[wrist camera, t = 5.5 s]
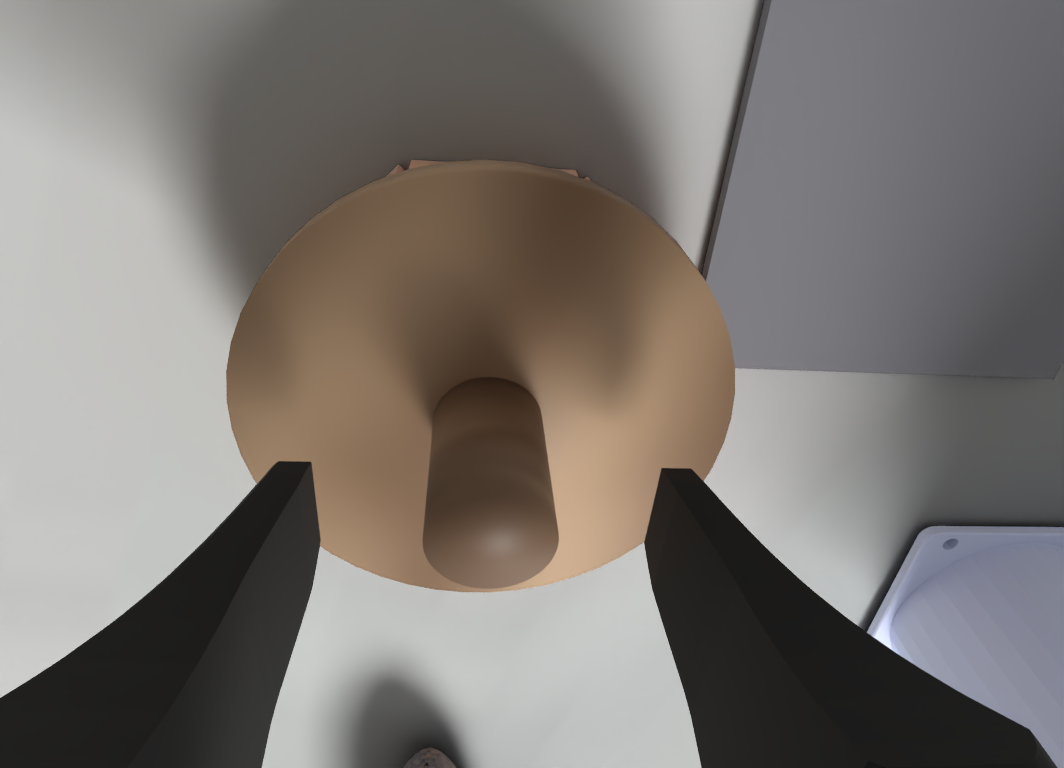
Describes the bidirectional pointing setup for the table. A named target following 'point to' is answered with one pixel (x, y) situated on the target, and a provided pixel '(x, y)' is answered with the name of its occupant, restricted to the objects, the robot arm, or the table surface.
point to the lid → (481, 373)
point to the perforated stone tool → (429, 760)
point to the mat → (897, 190)
